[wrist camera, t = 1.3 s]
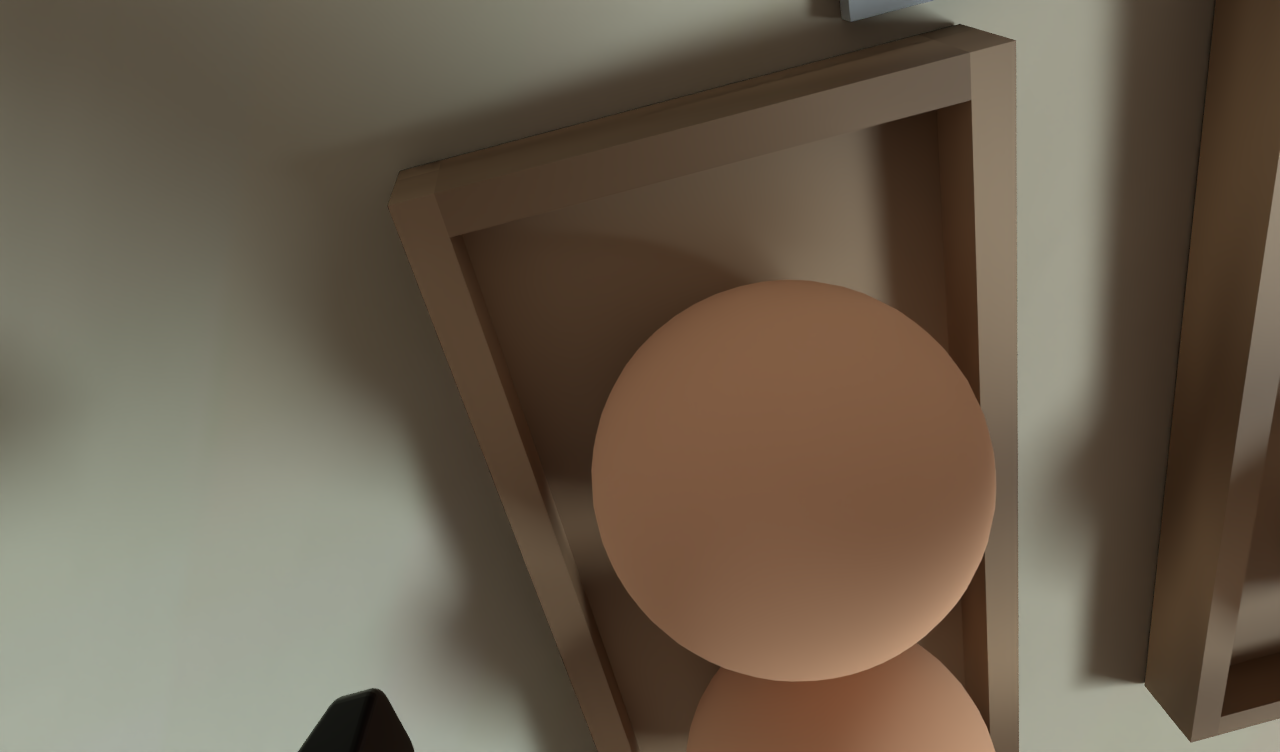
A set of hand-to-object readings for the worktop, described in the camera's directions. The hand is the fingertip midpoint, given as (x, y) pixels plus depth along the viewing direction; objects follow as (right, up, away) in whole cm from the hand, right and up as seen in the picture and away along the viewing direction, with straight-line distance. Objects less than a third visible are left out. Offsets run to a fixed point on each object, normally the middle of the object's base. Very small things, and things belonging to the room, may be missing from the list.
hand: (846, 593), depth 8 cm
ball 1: (0, +1, +2) cm, 2 cm away
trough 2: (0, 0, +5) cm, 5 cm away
